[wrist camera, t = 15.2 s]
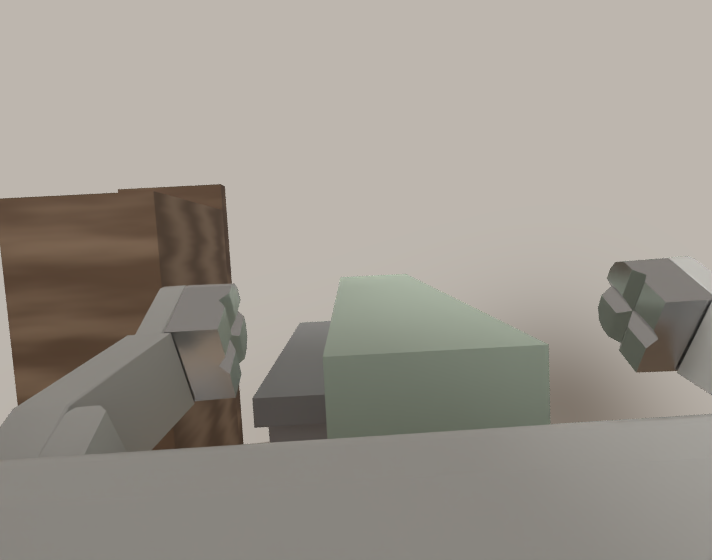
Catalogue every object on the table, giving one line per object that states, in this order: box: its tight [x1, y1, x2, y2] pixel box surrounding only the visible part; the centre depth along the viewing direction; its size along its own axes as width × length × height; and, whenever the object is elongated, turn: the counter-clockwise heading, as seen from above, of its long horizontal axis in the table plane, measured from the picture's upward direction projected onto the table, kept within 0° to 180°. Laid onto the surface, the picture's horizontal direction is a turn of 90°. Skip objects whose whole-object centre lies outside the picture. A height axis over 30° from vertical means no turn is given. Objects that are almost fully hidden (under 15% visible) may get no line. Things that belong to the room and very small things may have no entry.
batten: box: [323, 274, 550, 439], centre depth 18 cm, size 20×4×3 cm, turn 1°
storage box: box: [253, 321, 331, 443], centre depth 24 cm, size 15×10×18 cm, turn 1°
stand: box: [0, 184, 243, 450], centre depth 39 cm, size 19×14×30 cm
